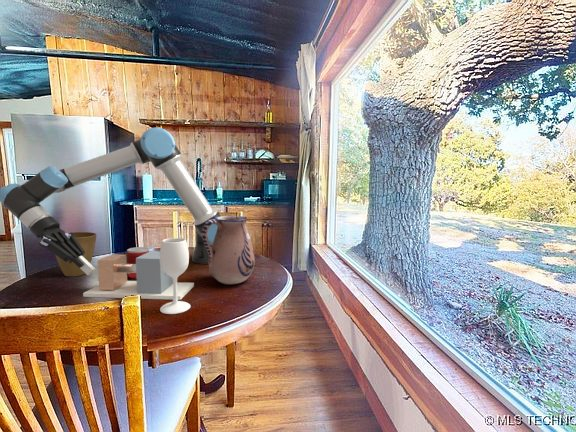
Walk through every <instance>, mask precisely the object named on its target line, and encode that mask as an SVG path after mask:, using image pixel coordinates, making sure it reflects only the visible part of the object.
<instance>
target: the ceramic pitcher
mask: <svg viewBox="0 0 576 432" xmlns="http://www.w3.org/2000/svg"><path fill="white" fill-rule="evenodd" d="M213 224H216V225H217V226H218V228H217V232H216V235H215V238H214V241H213V244H212V247H211V246H210V244H209V241H208V237H207V231H208V229H209V227H210V226H211V225H213ZM202 238H203V241H204V244H205V247H206V249H207V252H208V255H209V261H208V264H207V265H208V269H209V272H210V274H211V275H212V278H214V279H215V280H216V281H217V282H219V283H221V284H223V285H238V284H241V283H243V282H245V281H246V280H247V279H248V278H249V277H250V276H251V274H252V272H253V271H254V268H255V261H256V260H255V251H254V248H253V247H254V246H253V244H252V240H251V235H250V234H249V231H248V228H247V216H242V215H241V216H239V215H238V216H234V215H221V217H216V218H215V219H212V220H209V221H207V222H206V223H205V224H204V226H203V229H202Z"/></svg>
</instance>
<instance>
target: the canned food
mask: <svg viewBox="0 0 576 432" xmlns="http://www.w3.org/2000/svg"><path fill="white" fill-rule="evenodd" d="M149 249H150V248H149V247H145V246H137V247H130V248H128V249H127V250H126V252H127V264H136V258H137V257H139V256H142V255H144V254H146V253H148V252H150V250H149ZM127 277H128V278H130V279H133V280H134V279H135V280H137V277H136V273H127Z"/></svg>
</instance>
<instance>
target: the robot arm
mask: <svg viewBox="0 0 576 432" xmlns="http://www.w3.org/2000/svg"><path fill="white" fill-rule="evenodd" d="M140 136H141V137H140V138H139V139H136V140H135V141H132V142H131V143H130V145H128V146H124V147H122V148H119V149H115V150H114V151H111V152H108V153H106V154H102V155H99V156H96V157H94V158H91V159H88V160H85V161H81V162H79V163H76V164H73V165H71V166H68V167H65V168H61V169H58V167H55V166H53V165H49V166H47V167H45V168H43V169H41V170H40V171H39V172H38V173H36V174H35V175H34V176H33V177H31V178H29V179H28V180H27V181H26V182H24V183H23V184H21V185H20V184H18V183H16V182H15V183H8V184H7V185H4V186H2V187H0V203H1V204H2V205H3V207H4V208H6V209H7V210H8V211H9V212H10V213H11V214H12V215H13V216H14V217H16V218H17V219H18V220H19V221H20V222H21V223H22V224H23V225H24V226H25V227H26V228H27V229H28V230H29V231H30V232H31V233H32V234H33V235H34V236H35V237H36V238H38V239H41V240H40V242H39V243H38V245H39V246H40V247H42V248H45V249H47V250H48V251H50V253H52V254H53V255H54V256H55V255H57V256H58V257H59V258H61V259H62V260H64V261H65V262H68V261H70V262H69V263H72V262H74V263H75V264H76V265H77V266H78V267H79V268H81V269H82V270H83V271H84V272H85V273H86V275H87V276H90V275H91V274H92V273H93V272H94V271H95V270H96V268H95V266H93V265H92V263H91V262H90V263H89V261H88V260H87V259H86V258H85V257H84V256H83V254H84V253H85V251H84V249H83V248H82V247H81V245H80V244H79V243H78V241H77V240H76V239H75V237H74V234H73V233H72V232H65V231H64V229H61V228H60V225H61V223H59V222H58V220H57V219H55V217H53V216H52V215H51V213H50V212H48V210H46V209H45V208H44V207H43V206H42V205H41V203H42V202H43V201H44V200H45V199H47V198H48V197H50V196H51V195H52V194H55V193H61V192H65V191H66V190H69V189H70V188H74V187H76V186H79V185H81V184H84V183H87V182H90V181H93V180H95V179H98V178H101V177H104V176H106V175H110V174H112V173H114V172H117V171H120V170H123V169H126V168H128V167H131V166H134V165H137V164H141V165H144V164H147V163H151V164H152V165H153V167H154V168H155V170H156V169H157V170H159V171H162V173H163V174H164V176H165V177H166V179H167V180H168V182H169V183H170V185H171V187H172V188H173V189H174V191H175V192H176V194H177V195H178V197H179V198H180V200H181V201H182V203H183V204H184V206H185V207H186V208H187V210H188V211H189V213H190V214H191V216H192V217H193V219H194V221H193V225H194V227H195V247H194V249H193V253H192V256H191V260H192V262H193V263H195V264H201V265H203V264H204V265H209V264H208V261H209V255H208V252H207V249H206V247H205V244H204V241H203V238H202V229H203V226H204V224H205V223H206V222H207V221H209V220H212V219H215V218H216V217H221V216H222V215H221V214H220V212H219V210H218V209H215V208H213V207H212V205H211V204H210V203H209V202H208V199H207V198H206V197H205V195H204V194H203V192H202V190H201V189H200V188H199V186H198V184H197V183H196V181H195V179H194V178H193V177H192V175H191V174H190V172H189V170H188V168H187V167H186V166H185V164H184V163H183V161H182V155H183V154H182V153H181V150H180V149H179V148H178V146H177V144H176V142H175V138H174V136H173V135H172V134H171V133H170V132H169V131H168V130H166V129H165V128H162V127H151V128H148V129H147V130H145V131H144V132H143V133H142V135H140ZM217 228H218V226H217V225H216V224H213V225H211V226H210V227H209V229H208V231H207V237H208V241H209V244H210V246H211V247H212V244H213V241H214V238H215V235H216V232H217ZM68 233H69V234H68Z"/></svg>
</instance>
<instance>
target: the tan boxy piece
mask: <svg viewBox="0 0 576 432" xmlns="http://www.w3.org/2000/svg"><path fill="white" fill-rule="evenodd" d="M97 269H98V270H97V273H98V285H99V289H104V290H114V289H116V288H118V287H120V286H121V285H123V284H125V283H126V282H127V281H128V273H136V264H127V261H126V255H123V254H117V253H116V254H115V253H113V254H110V255H107V256H105V257H102V258H99V259H98V260H97Z"/></svg>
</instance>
